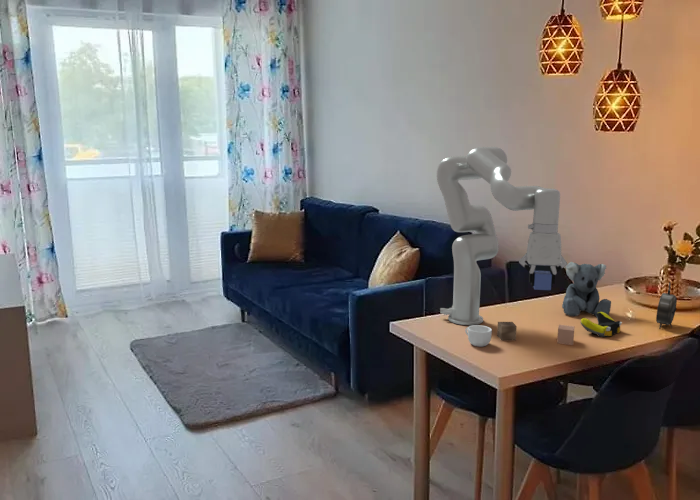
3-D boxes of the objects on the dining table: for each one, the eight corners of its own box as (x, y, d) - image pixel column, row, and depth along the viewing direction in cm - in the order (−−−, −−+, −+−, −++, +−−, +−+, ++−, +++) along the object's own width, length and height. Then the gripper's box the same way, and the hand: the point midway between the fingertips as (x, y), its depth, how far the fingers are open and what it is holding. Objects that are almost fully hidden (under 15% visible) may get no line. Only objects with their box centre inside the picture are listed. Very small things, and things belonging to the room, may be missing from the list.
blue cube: (534, 289, 205) (535, 273, 204) (532, 285, 210) (533, 270, 209) (550, 290, 205) (551, 274, 204) (548, 286, 209) (549, 271, 209)
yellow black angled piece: (577, 333, 227) (604, 340, 220) (578, 318, 226) (606, 324, 219) (598, 324, 237) (625, 331, 230) (599, 310, 236) (626, 316, 229)
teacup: (496, 345, 214) (497, 329, 213) (480, 350, 209) (480, 333, 208) (473, 337, 221) (473, 322, 220) (457, 341, 217) (457, 326, 216)
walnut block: (500, 340, 219) (501, 326, 218) (497, 335, 223) (497, 321, 223) (515, 340, 219) (516, 326, 218) (511, 335, 224) (512, 321, 223)
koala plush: (564, 317, 246) (568, 266, 242) (553, 304, 263) (557, 256, 260) (612, 318, 244) (616, 267, 241) (598, 305, 262) (602, 257, 258)
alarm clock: (660, 321, 241) (664, 278, 238) (676, 324, 238) (681, 280, 235) (654, 329, 232) (658, 284, 229) (670, 331, 229) (675, 286, 226)
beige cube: (556, 343, 216) (558, 328, 215) (557, 338, 221) (558, 324, 220) (573, 345, 214) (574, 330, 213) (573, 340, 219) (574, 326, 218)
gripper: (518, 229, 201) (515, 287, 205) (576, 231, 199) (571, 289, 202) (515, 226, 209) (512, 281, 212) (571, 227, 206) (567, 283, 210)
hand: (541, 285), depth 207 cm, fingers closed on blue cube, 4 cm apart
